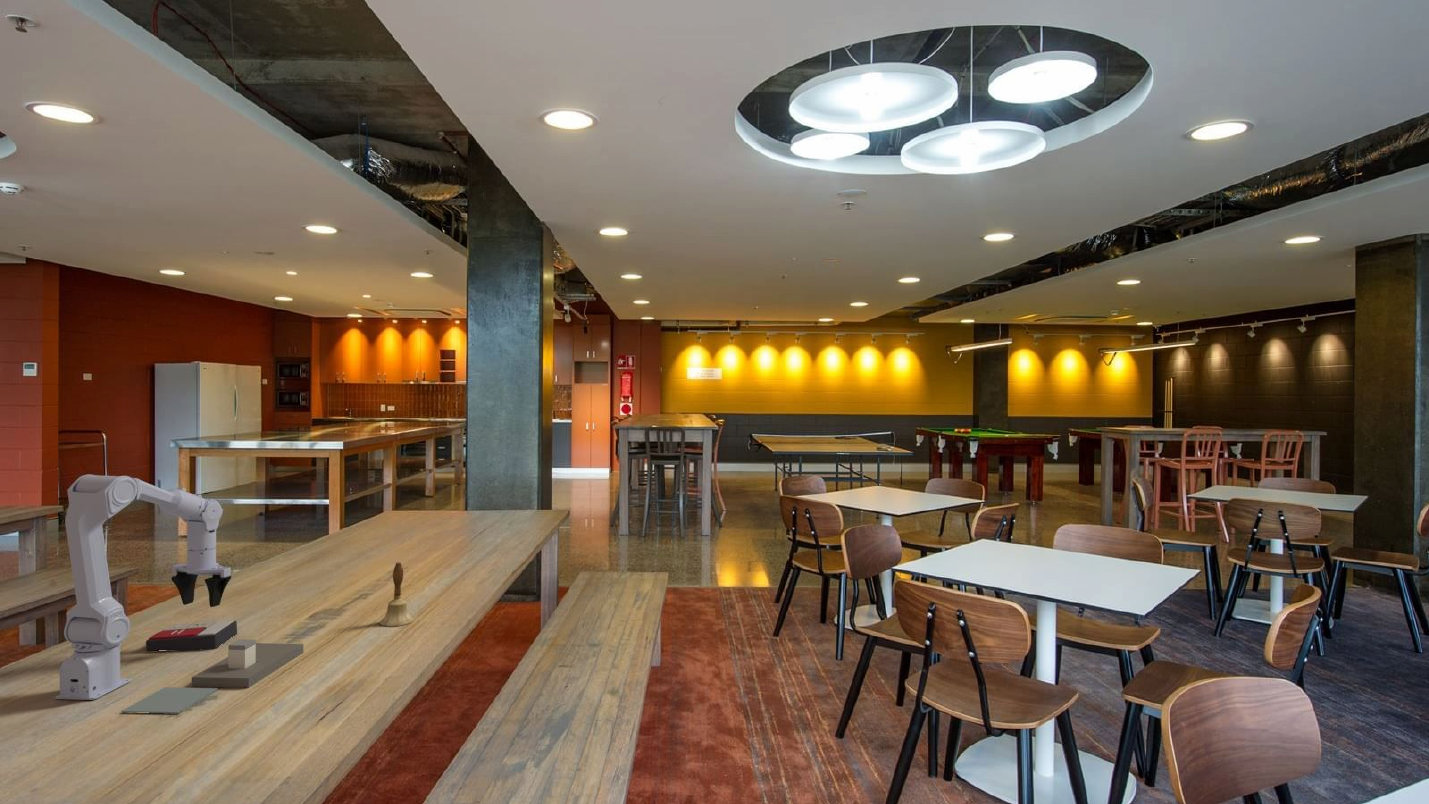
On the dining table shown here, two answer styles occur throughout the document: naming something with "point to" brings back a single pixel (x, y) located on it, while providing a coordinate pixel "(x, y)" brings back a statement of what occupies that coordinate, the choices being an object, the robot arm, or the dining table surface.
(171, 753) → the dining table surface
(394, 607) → the hand bell
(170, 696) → the mat
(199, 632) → the black and red box
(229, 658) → the plug
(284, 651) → the grey slotted plate
